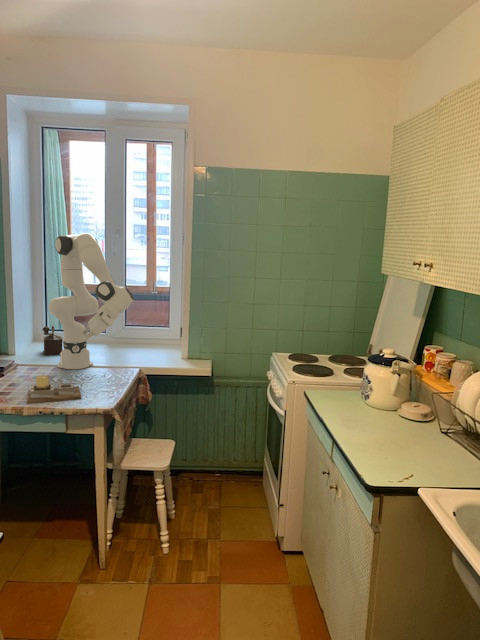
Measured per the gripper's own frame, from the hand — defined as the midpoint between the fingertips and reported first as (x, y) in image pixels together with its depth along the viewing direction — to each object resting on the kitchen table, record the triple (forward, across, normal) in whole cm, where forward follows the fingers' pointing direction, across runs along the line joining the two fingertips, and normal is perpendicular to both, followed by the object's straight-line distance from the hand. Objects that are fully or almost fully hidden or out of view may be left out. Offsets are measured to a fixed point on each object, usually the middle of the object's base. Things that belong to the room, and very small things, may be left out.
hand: (84, 336), depth 226 cm
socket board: (+27, +9, +8) cm, 30 cm away
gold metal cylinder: (+30, +9, +4) cm, 31 cm away
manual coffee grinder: (+29, -70, +10) cm, 76 cm away
